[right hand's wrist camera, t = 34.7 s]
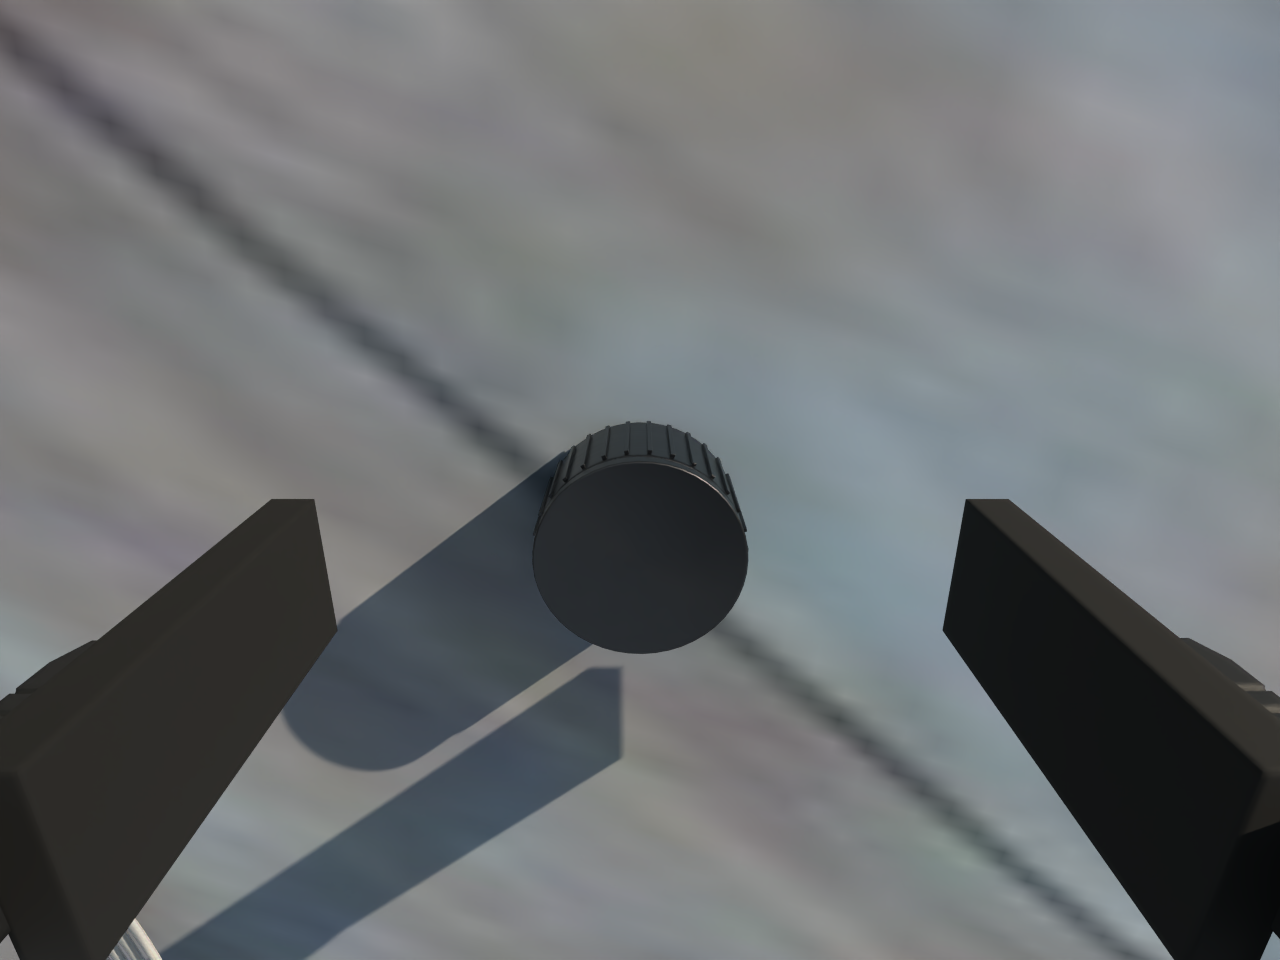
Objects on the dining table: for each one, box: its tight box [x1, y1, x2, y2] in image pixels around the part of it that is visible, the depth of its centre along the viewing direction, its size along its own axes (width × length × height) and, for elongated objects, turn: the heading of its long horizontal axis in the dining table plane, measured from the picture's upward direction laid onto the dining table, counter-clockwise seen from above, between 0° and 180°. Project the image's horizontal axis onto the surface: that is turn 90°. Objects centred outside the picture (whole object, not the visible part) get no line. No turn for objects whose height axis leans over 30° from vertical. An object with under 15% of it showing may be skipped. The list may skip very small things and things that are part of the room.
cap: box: [533, 421, 748, 654], centre depth 14 cm, size 4×4×2 cm
